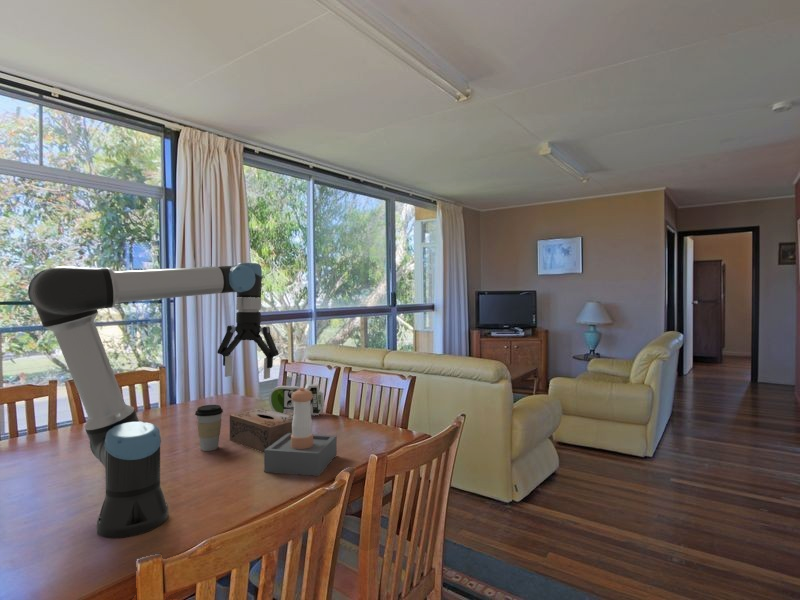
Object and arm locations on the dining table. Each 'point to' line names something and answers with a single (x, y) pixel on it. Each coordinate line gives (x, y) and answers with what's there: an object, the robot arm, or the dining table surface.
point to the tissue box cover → (259, 427)
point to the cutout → (283, 401)
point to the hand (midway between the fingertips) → (247, 377)
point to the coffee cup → (209, 426)
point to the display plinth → (300, 456)
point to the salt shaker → (302, 420)
